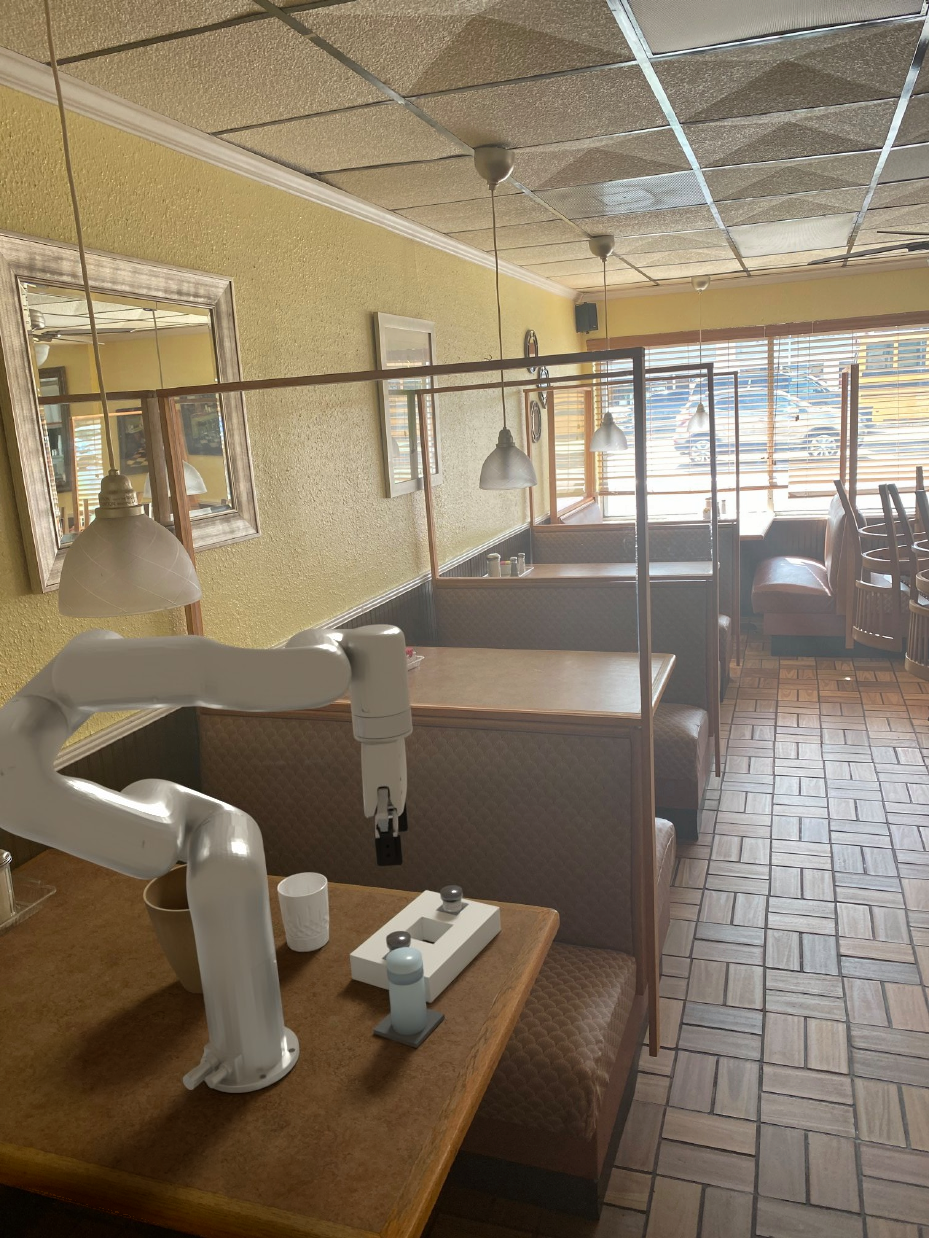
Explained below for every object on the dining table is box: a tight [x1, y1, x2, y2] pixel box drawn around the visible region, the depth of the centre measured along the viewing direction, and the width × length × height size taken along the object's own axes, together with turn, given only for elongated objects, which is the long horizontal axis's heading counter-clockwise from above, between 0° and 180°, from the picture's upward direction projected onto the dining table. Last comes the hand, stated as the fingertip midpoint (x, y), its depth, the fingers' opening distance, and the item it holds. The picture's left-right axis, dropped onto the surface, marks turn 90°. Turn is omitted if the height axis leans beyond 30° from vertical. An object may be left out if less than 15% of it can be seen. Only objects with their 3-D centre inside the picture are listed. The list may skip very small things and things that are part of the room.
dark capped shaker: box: [439, 884, 464, 916], centre depth 148 cm, size 4×4×6 cm
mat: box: [372, 1007, 445, 1049], centre depth 125 cm, size 7×7×1 cm
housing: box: [349, 889, 502, 1004], centre depth 142 cm, size 21×14×4 cm, turn 150°
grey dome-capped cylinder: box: [386, 931, 411, 953], centre depth 135 cm, size 4×4×6 cm
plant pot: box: [142, 863, 203, 994], centre depth 138 cm, size 15×15×16 cm
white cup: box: [276, 872, 330, 953], centre depth 147 cm, size 8×8×10 cm
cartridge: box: [386, 947, 428, 1035], centre depth 124 cm, size 5×5×10 cm
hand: (393, 847), depth 120 cm, fingers open, 9 cm apart
